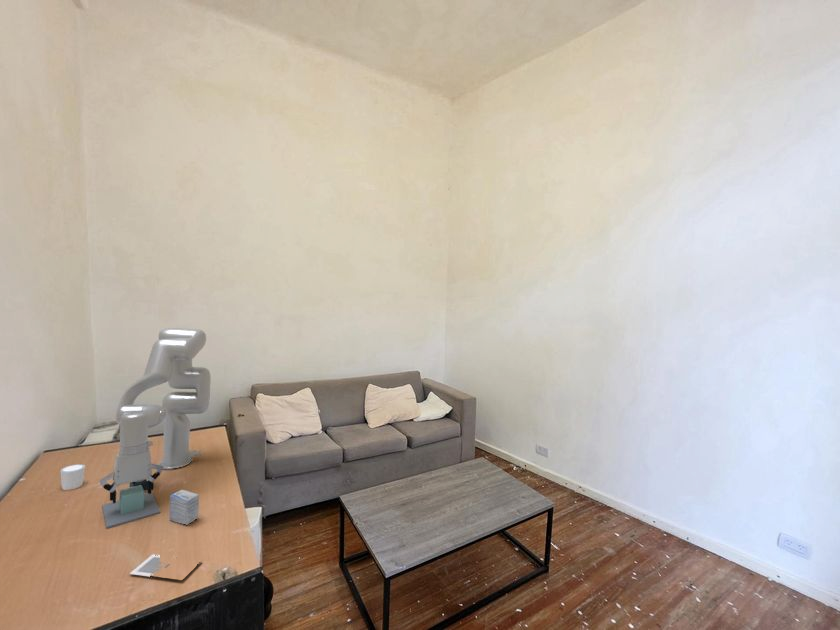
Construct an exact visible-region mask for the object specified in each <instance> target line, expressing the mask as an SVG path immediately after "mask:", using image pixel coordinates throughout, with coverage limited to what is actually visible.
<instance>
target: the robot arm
mask: <svg viewBox="0 0 840 630" xmlns="http://www.w3.org/2000/svg"><path fill="white" fill-rule="evenodd" d="M206 335H207V334H206V333H205V331H204V330H202V329H196V328H195V329H193V328H175V327H174V328H170V327H169V328H164V329H161V330H160V331H159V332H158V340H156V341H154V343H153V344H152V346H151V350H150V353H149V356H148V360H147V362H146V367H145V370H144V373H143V375H142V377H140V378H138V379H137V380H136V381H134V382H133V383H132V384H131V385H130V386H129V387H128V388H127V389H126V390H125V391H124V392H123V394H122V396H121V398H120V401H119V403H118V407H117V410H116V413H115V422H116V423H117V424H118V425H119V426H120V430H119V431H120V432H119V452H117V453H116V455H115V458H114V465H113V471H112V472H111V473H109V474H107V475H105V476H103V477H102V478H100V479H99V484H100V485H101V486H102V488H103V489H104V490H106V491H108V492H109V501H112V502H113V504H114V503H116V501H117V490H116V489H118V487H119V486H122V485H126V484H130V483H131V482H135V481H139V480H143V479H146V480H147V481H148V485H147V490H146V491H147V493H148V494H151V492H152V491H154V484H155V483H154V482H156V479H158V478H159V477H160V475H161V473H162V472H163V470H173V469H172V468H177V469H179V468H178V467H182V466H184V465H186V464H188V463H190V462H191V461H192V462H193V458H194V457H197V456H201V455H202V452H201V450H196V449H195V450H190V434H191V421H190V419H189V417H188V415H200V414H201V415H202V414H204V413H206V412H207V411H208V410H209V407H210V395H211V377H212V376H211V373H210V370H209V369H208V368H206V367H202V366H201V367H200V366H198V367H196V366H193V359H195V357H196V356H197V355H198V354H199V353H200V352H201V351H202V350H203V348H204V346H205V345H206V342H207V336H206ZM167 382H168V383H167ZM165 383H167V384H168V386H169V387H170V389H178V390H195V391H172V392H171V391H170V392H169V393H167V394H166V395H165V396H164V397H163V398H162V402H161V403H162V404H161V405H160V404H134V403H135V401H136V399H137V398H138V396H140V395H141V394H142V393H143V392H145V391H147V390H149V389H152V388H154V387H157V386H159V385H163V384H165ZM162 422H163V441H162V442H163V447H162V458H161V459H160V460H159V462H158V464H157V463H156V464H155V463H152V456H151V450H150V446H153V442H154V441H153V440H152V441H150V440H148V439H149V438H148V437H149V429H150V428H153V427H156V426H158V425H160V424H162ZM192 462H191V463H192ZM191 463H190V464H191ZM182 468H183V467H182ZM152 470H156V471H155V472H154V473H153V474H152V472H153V471H152ZM111 479H112V480H113V482H112V483H111V484H109V483H107V482H108V481H110V480H111Z"/></svg>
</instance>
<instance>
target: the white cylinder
mask: <svg viewBox="0 0 840 630" xmlns="http://www.w3.org/2000/svg"><path fill="white" fill-rule="evenodd" d="M59 471H60V481H61V483H60V484H61V489H62V490H64V491H70V490H71V491H72V490H74V489H77V488H81V486H83V484H84V483H83V482H84V477H85V471H86V465H85V464H82V463H80V464H71V465H67V466H65V467H63V468H61V469H60V470H59Z"/></svg>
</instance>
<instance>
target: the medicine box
mask: <svg viewBox="0 0 840 630" xmlns="http://www.w3.org/2000/svg"><path fill="white" fill-rule="evenodd" d="M199 502H200V494H198V493H196V492H195V493H194V492H191V491H188V490H186V489H180V490H179V491H176V492H174V493H172V494H171V495H170V497H169V519H170V520H169V521H171V520H173V521H172V522H174V521H176V522H175V523H177V522H179V523H178V524H180V523H182V524H181V525H183V524H186V525H187V524H189V523H190V522H192V521H194V520H195V519H196V518H198V519H199V508H200V506H199V504H200V503H199ZM194 522H195V521H194ZM186 525H185V526H186ZM189 525H190V524H189Z"/></svg>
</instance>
